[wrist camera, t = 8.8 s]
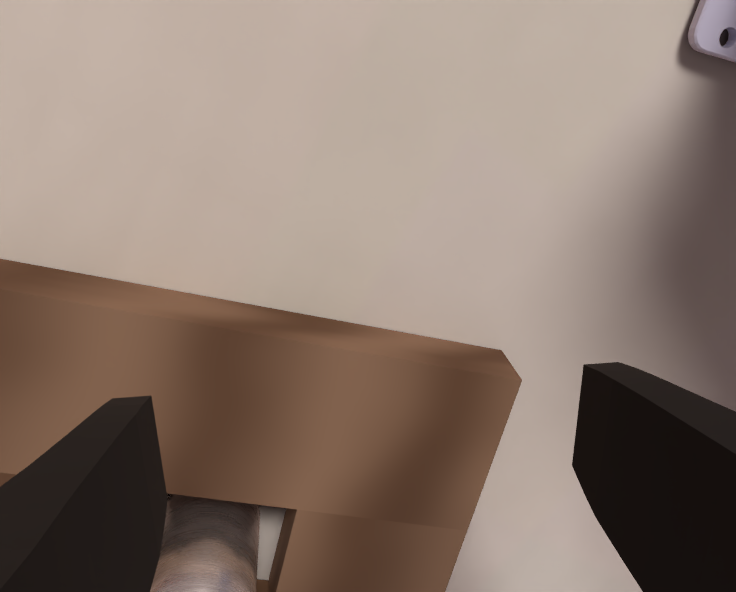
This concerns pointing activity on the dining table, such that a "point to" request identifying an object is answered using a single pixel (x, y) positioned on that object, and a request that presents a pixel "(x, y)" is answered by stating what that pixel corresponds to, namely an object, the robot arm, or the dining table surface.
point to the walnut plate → (268, 417)
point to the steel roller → (208, 546)
